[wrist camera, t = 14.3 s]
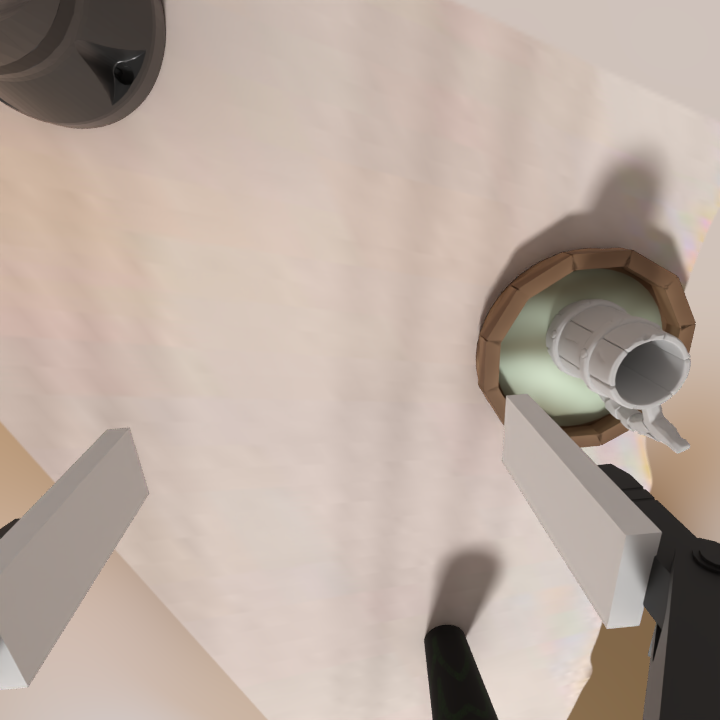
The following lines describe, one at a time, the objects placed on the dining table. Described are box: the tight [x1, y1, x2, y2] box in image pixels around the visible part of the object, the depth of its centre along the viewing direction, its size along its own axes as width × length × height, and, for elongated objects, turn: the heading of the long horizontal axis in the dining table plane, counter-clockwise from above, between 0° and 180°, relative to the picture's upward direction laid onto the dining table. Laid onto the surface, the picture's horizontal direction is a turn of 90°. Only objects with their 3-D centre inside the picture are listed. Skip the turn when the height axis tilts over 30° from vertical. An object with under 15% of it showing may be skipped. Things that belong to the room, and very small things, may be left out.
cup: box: [424, 625, 498, 720], centre depth 52 cm, size 8×8×12 cm
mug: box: [546, 299, 691, 453], centre depth 37 cm, size 8×12×12 cm, turn 25°
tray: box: [476, 248, 696, 447], centre depth 42 cm, size 20×20×3 cm
